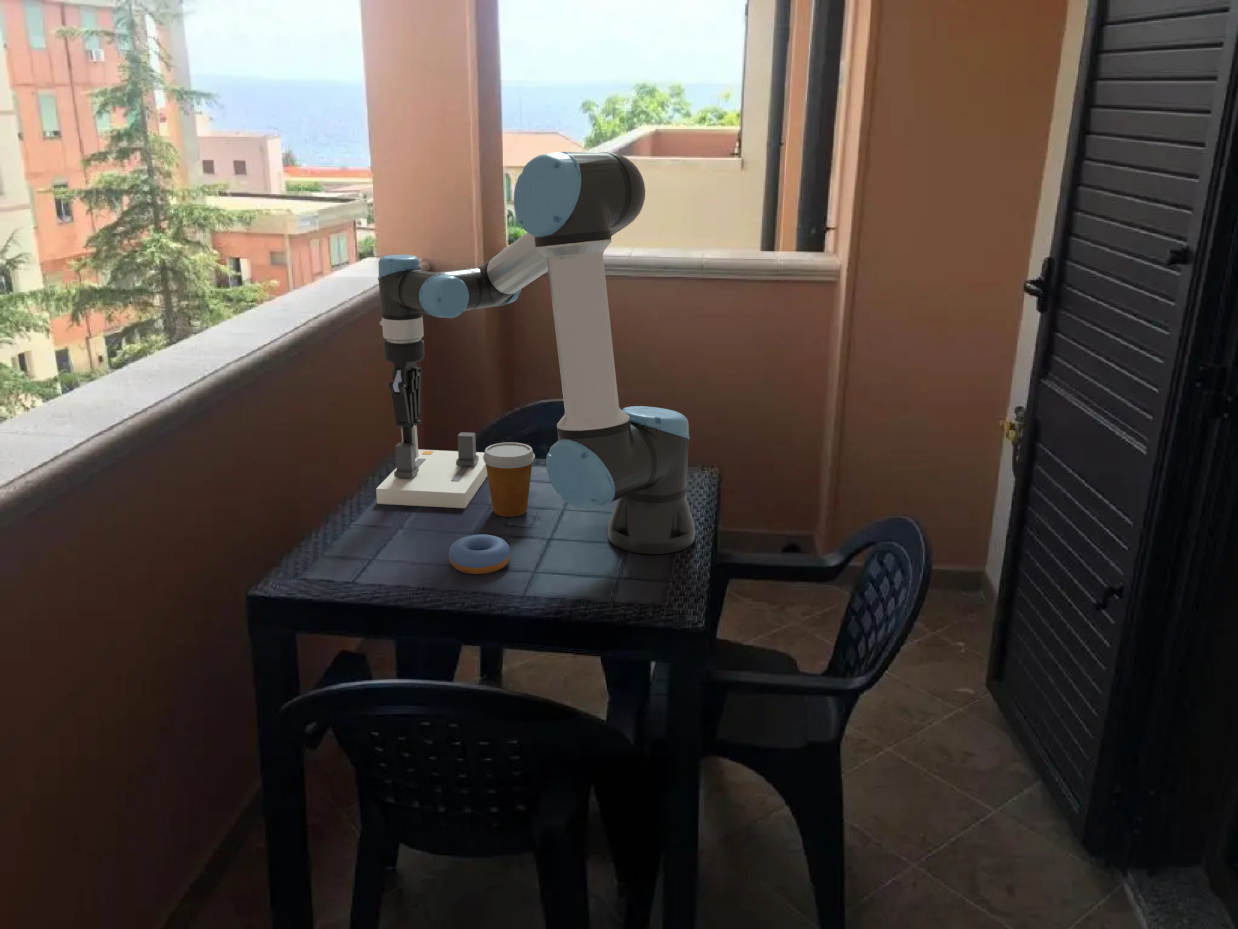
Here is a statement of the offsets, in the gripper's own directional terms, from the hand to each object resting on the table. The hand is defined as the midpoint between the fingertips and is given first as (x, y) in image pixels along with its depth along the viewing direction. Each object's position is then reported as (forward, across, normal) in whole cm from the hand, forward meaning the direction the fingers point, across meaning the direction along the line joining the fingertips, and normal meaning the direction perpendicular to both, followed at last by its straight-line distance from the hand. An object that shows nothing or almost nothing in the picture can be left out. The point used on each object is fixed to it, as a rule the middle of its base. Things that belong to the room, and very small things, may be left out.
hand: (410, 456), depth 192 cm
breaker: (+3, -5, +10) cm, 12 cm away
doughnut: (+6, +34, +22) cm, 41 cm away
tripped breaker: (+3, +3, 0) cm, 4 cm away
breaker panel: (+6, -1, +5) cm, 8 cm away
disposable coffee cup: (+6, +11, +22) cm, 25 cm away
